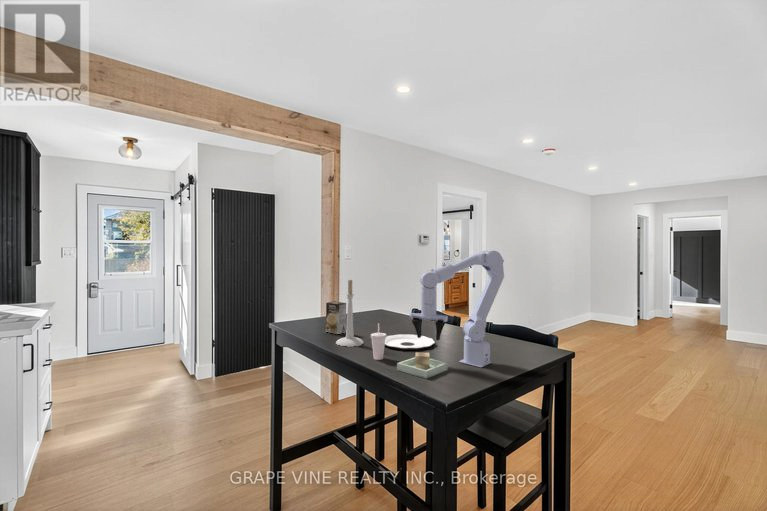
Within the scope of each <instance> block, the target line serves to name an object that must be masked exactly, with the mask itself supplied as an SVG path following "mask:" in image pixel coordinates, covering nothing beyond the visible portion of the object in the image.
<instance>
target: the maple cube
mask: <svg viewBox="0 0 767 511" xmlns="http://www.w3.org/2000/svg"><path fill="white" fill-rule="evenodd" d="M414 357H415V367H416V368H420V369H423V370H427V369H429V368H430V359H431V358H430V352H417V351H416V352H415V356H414Z"/></svg>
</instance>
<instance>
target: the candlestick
mask: <svg viewBox="0 0 767 511" xmlns="http://www.w3.org/2000/svg"><path fill="white" fill-rule="evenodd" d="M354 295H355V294H353V279H348V280H347V293H346V296H347V297H346V298H347V300H348V301H347V310H346V333H345V337H341V338H339V339H337V340H336V341H335V345H336V344H337V345H336V346H338V345H340V346H339V347H342V346H347V347H346V348H353V347H354V346H356V347H361V346H362V344H363V345H364V341H363V339H361V338H359V337H356V336H354V335H355V334H354V314H353V310H354V309H353V298H354V297H353V296H354Z"/></svg>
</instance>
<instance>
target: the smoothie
mask: <svg viewBox="0 0 767 511" xmlns="http://www.w3.org/2000/svg"><path fill="white" fill-rule="evenodd" d="M386 336H387V333H385V332H380V322H379V323H377V332H373V333H371V334H370V339H371V347H372V354H373V359H374V360H375V361H381V360H383V359H384V354H385V346H386V345H385V339H386Z"/></svg>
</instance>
